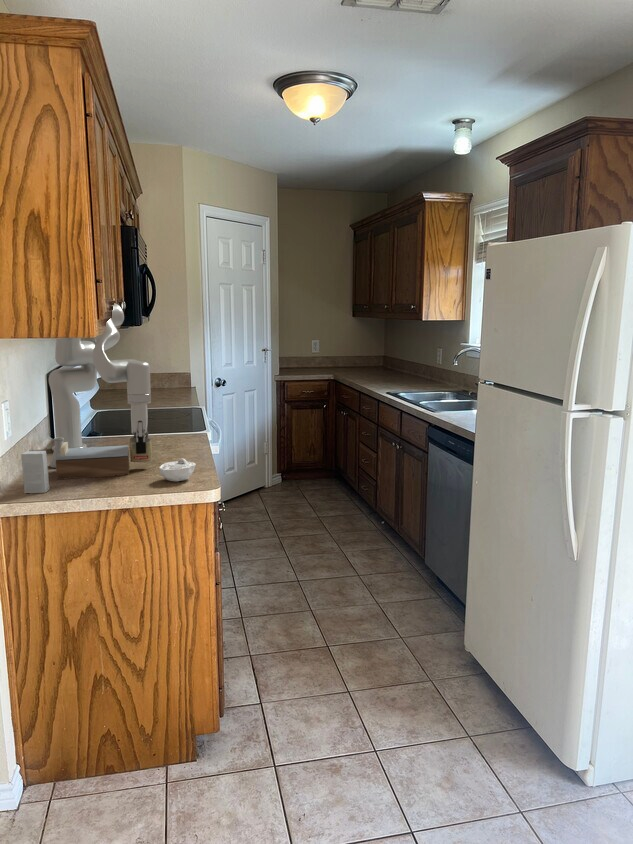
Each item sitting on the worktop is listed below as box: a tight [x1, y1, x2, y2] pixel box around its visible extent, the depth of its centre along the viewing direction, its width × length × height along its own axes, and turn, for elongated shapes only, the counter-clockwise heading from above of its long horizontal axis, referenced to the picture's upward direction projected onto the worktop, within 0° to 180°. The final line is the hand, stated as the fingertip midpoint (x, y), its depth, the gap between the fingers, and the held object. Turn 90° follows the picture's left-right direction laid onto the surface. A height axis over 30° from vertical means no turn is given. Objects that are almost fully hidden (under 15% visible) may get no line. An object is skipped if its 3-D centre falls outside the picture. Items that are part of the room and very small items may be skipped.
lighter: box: [129, 431, 153, 463], centre depth 210 cm, size 7×4×10 cm, turn 106°
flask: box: [49, 437, 64, 469], centre depth 215 cm, size 7×7×10 cm
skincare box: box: [20, 450, 50, 494], centre depth 183 cm, size 6×4×12 cm
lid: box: [56, 442, 130, 460], centre depth 206 cm, size 13×22×4 cm, turn 106°
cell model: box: [158, 457, 196, 482], centre depth 196 cm, size 10×12×7 cm
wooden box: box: [55, 449, 130, 480], centre depth 206 cm, size 13×22×6 cm, turn 106°
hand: (141, 451), depth 211 cm, fingers closed on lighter, 3 cm apart
